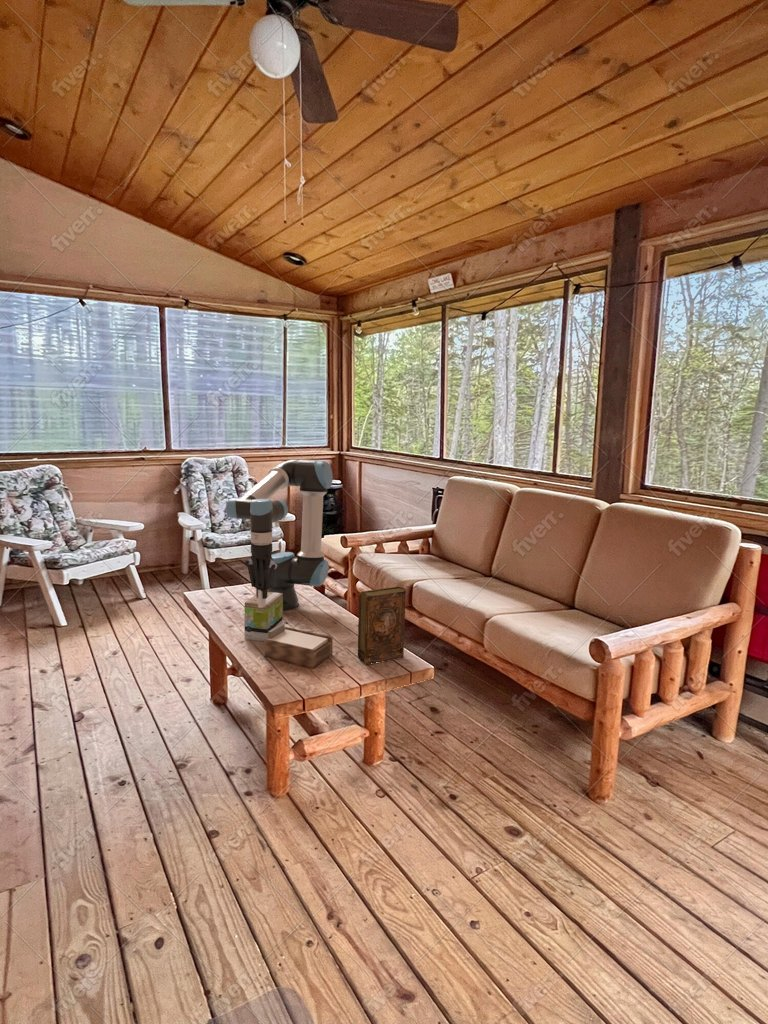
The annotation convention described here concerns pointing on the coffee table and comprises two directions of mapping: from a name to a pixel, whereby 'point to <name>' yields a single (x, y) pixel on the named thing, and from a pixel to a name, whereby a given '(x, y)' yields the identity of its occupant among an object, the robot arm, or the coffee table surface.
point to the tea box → (263, 616)
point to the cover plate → (296, 638)
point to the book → (381, 624)
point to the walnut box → (298, 651)
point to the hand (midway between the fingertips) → (262, 606)
